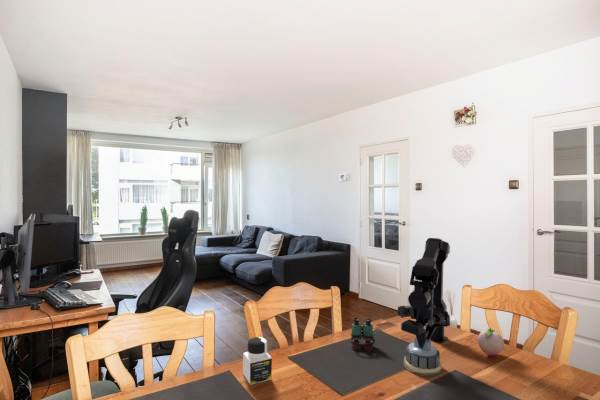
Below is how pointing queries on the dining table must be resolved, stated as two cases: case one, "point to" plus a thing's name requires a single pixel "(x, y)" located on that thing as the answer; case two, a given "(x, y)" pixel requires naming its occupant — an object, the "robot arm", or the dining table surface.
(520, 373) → the dining table surface
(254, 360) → the medicine bottle
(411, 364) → the notched grey ring
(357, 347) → the binoculars
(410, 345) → the grey rounded piece
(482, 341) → the decorative fruit
